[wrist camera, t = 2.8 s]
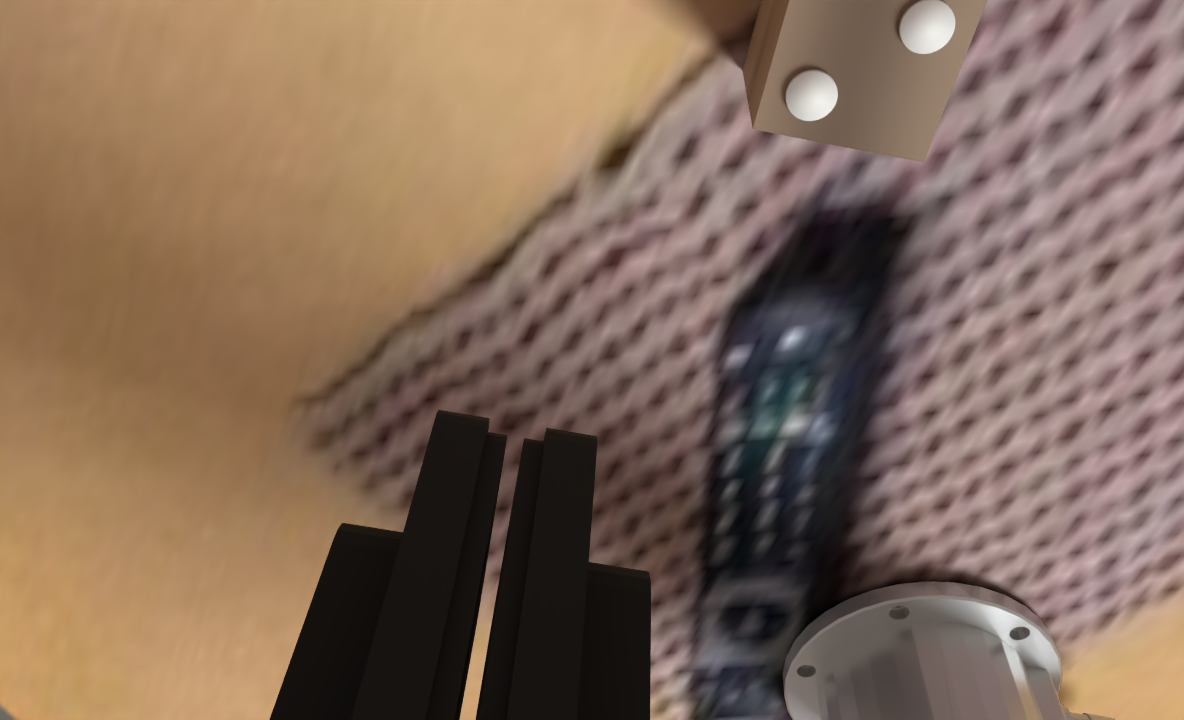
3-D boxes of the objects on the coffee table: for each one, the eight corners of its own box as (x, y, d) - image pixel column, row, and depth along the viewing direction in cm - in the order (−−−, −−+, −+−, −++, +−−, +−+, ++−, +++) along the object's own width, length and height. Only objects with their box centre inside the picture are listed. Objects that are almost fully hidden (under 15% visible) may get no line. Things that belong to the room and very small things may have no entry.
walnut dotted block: (949, -60, 31) (995, -13, 26) (892, 99, 33) (924, 165, 29) (786, -94, 30) (805, -52, 26) (742, 69, 33) (752, 131, 29)
